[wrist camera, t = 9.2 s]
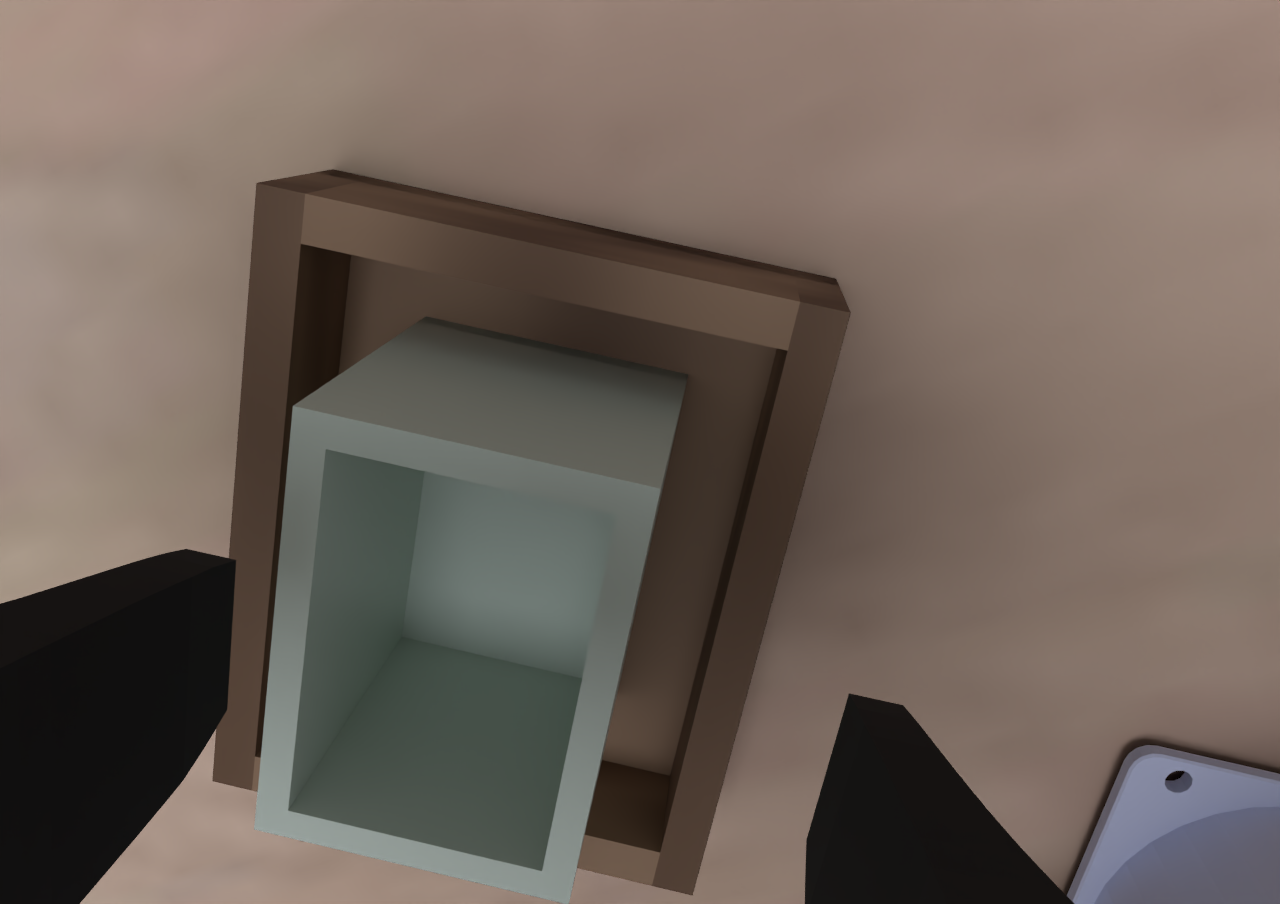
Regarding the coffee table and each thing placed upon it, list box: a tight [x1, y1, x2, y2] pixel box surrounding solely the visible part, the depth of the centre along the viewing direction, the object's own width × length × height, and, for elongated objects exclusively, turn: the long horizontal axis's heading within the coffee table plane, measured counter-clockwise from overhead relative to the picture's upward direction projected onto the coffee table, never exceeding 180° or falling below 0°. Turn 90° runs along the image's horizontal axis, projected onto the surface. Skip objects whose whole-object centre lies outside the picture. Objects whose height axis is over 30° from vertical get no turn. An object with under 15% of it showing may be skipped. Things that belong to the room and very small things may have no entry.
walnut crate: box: [213, 170, 850, 895], centre depth 20 cm, size 10×12×3 cm
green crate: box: [254, 316, 688, 904], centre depth 18 cm, size 5×7×6 cm
